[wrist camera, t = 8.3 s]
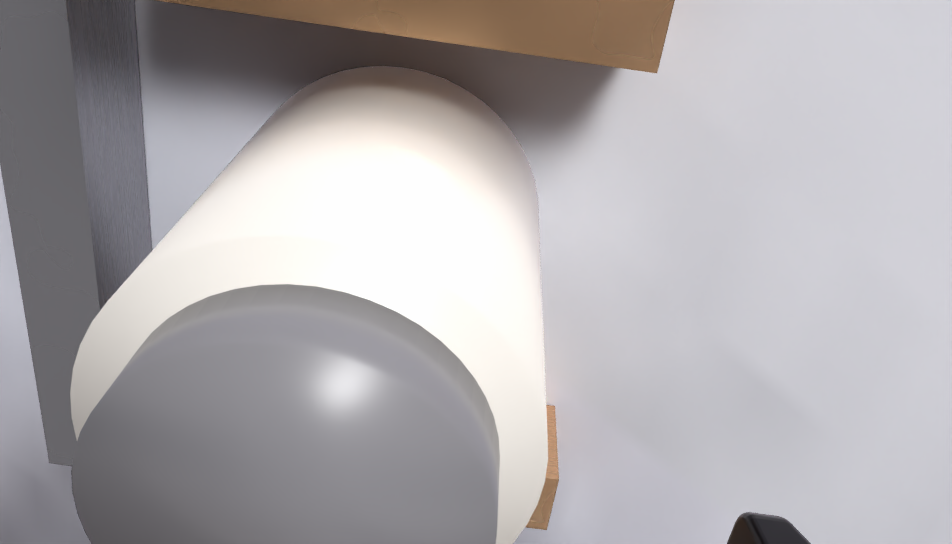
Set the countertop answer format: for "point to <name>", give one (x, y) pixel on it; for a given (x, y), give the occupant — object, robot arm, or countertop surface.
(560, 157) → the countertop surface
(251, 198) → the white rounded cylinder
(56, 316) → the grey angular piece
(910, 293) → the countertop surface
